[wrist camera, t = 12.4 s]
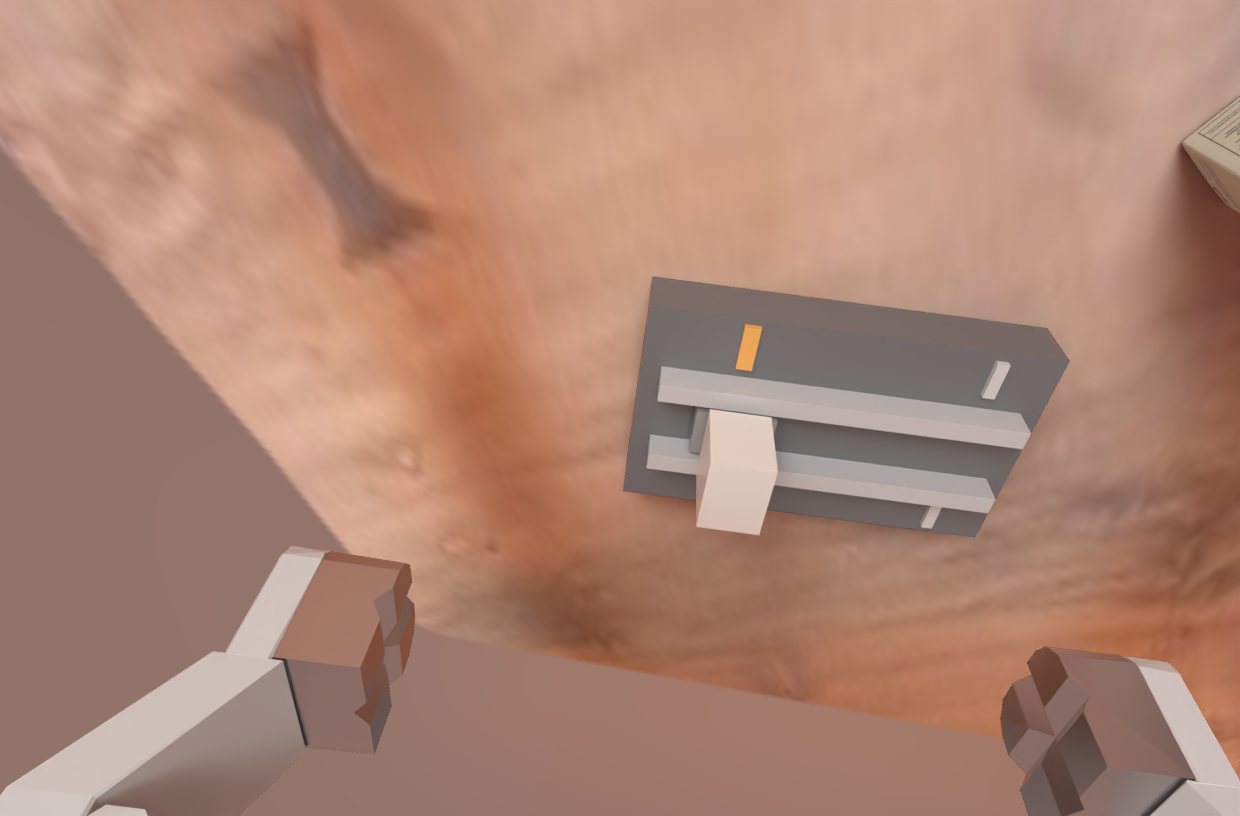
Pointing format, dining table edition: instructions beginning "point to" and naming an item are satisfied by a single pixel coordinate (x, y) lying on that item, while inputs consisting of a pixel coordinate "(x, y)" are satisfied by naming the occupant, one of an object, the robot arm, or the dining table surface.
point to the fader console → (843, 401)
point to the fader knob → (733, 468)
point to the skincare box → (1219, 153)
